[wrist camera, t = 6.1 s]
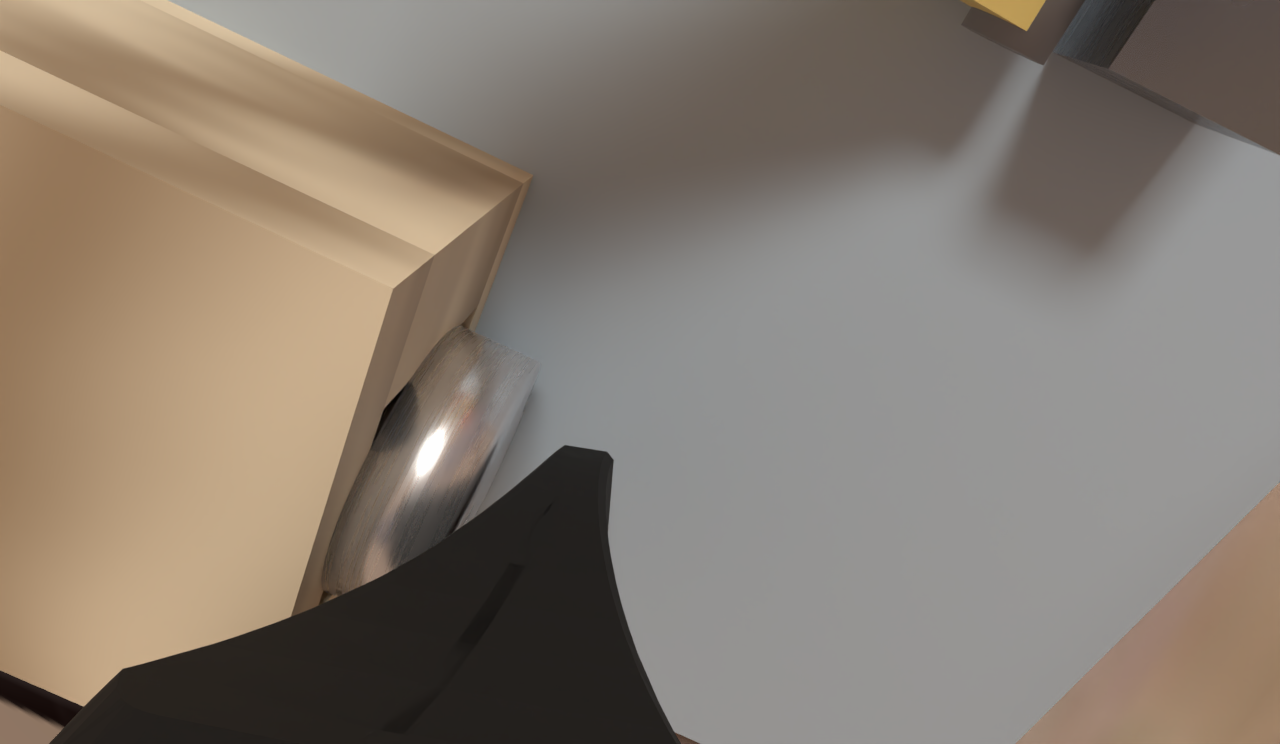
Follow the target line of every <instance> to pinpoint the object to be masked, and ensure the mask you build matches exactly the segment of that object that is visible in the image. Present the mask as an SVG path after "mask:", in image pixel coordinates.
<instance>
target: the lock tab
mask: <svg viewBox="0 0 1280 744" xmlns="http://www.w3.org/2000/svg"><path fill="white" fill-rule="evenodd" d="M960 1H962V2H964V3H965V4H967V5H969V6H970V7H971V8H970V10H969V12H968V14H967V15H966V17H965V19H964V21H963V22H962V24H961V25H962V26H963V27H965V28H967V29H969V30H970V31H972V32H974V33H976V34H978V35H980V36H982V37H984V38H986V39H988V40H990V41H992V42H994V43H996V44H998V45H1000V46H1002V47H1004V48H1006V49H1008V50H1010V51H1012V52H1014V53H1016V54H1018V55H1021V56H1023V57H1025V58H1027V59H1029V60H1031V61H1034V62H1036V63H1038V64H1041V65H1044V64H1045V62H1046V61H1047V59H1048V58H1049V56H1050V55H1051V53H1052V51H1053V50H1054V48H1055V47H1056V45H1057V44H1058V42H1059V41H1060V39H1061V37H1062V36H1063V34H1064V33H1065V31H1066V30H1067V28H1068V26H1069V25H1070V23H1071V22H1072V20H1073V19H1074V17H1075V16H1076V14H1077V12H1078V11H1079V9H1080V8H1081V6H1082V5H1083V3H1084V1H1085V0H960Z"/></svg>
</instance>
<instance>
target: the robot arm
mask: <svg viewBox="0 0 1280 744" xmlns="http://www.w3.org/2000/svg"><path fill="white" fill-rule="evenodd" d="M613 463H614V460H613V458H612V457H611V456H610V455H609V453H608V452H606V451H600V450H594V449H587V448H581V447H575V446H568V445H564V446H563V447H561V448H560V449H558V450H557V451H556V452H555V453H553V454H552V455H551V456H550V457H549V458H547V459H546V460H545V461H544V462H543V463H542V464H541V465H539V466H538V467H537V468H536V469H535V470H534V471H532V472H531V473H530V474H529V475H528V476H527V477H525V478H524V479H523V480H522V481H521V482H519V483H518V484H517V485H516V486H515V487H513V488H512V489H511V490H510V491H508V492H507V493H506V494H505V495H503V496H502V497H501V498H499V499H498V500H497V501H496V502H494V503H493V504H492V505H491V506H489V507H488V508H487V509H485V510H484V511H483V512H482V513H480V514H479V515H478V516H476V517H475V518H474V519H472V520H471V521H469V522H468V523H466V524H465V525H463V526H462V527H461V528H459V529H458V530H456V531H455V532H453V533H452V534H450V535H449V536H448V537H446V538H445V539H443V540H442V541H440V542H439V543H437V544H436V545H434V546H433V547H431V548H430V549H428V550H427V551H425V552H423V553H422V554H420V555H418V556H417V557H415V558H413V559H412V560H410V561H408V562H406V563H404V564H403V565H401V566H399V567H397V568H395V569H393V570H392V571H390V572H388V573H386V574H384V575H382V576H381V577H379V578H377V579H375V580H373V581H371V582H368V583H366V584H364V585H362V586H360V587H358V588H355V589H353V590H351V591H349V592H347V593H345V594H342V595H340V596H338V597H336V598H334V599H331V600H329V601H327V602H325V603H323V604H321V605H318V606H316V607H314V608H312V609H309V610H307V611H304V612H302V613H299V614H297V615H294V616H291V617H289V618H286V619H284V620H281V621H279V622H276V623H273V624H271V625H268V626H265V627H262V628H259V629H256V630H253V631H251V632H248V633H245V634H242V635H239V636H236V637H233V638H230V639H227V640H224V641H221V642H218V643H214V644H211V645H207V646H204V647H200V648H197V649H193V650H190V651H186V652H183V653H179V654H176V655H172V656H168V657H165V658H161V659H158V660H154V661H151V662H147V663H144V664H140V665H136V666H132V667H128V668H123V669H122V670H121V671H120V672H119V673H118V674H117V675H116V676H115V677H114V678H112V679H111V680H110V681H109V682H108V683H107V684H106V685H105V686H104V687H103V688H102V689H101V690H100V691H99V692H98V693H97V694H96V695H95V696H94V697H93V698H92V699H91V700H90V701H89V702H88V703H87V704H86V705H85V706H84V707H83V708H82V709H81V710H80V711H79V713H78V714H77V715H76V716H75V717H74V718H73V719H72V720H71V721H70V722H69V723H68V724H67V725H66V726H65V727H64V728H63V730H62V731H61V732H60V733H59V734H58V735H57V736H56V737H55V738H54V739H53V740H52V741H51V742H50V744H681V743H680V741H679V740H678V738H677V736H676V734H675V733H674V731H673V729H672V727H671V725H670V723H669V721H668V719H667V717H666V715H665V713H664V711H663V709H662V707H661V705H660V704H659V701H658V699H657V697H656V694H655V692H654V690H653V688H652V685H651V683H650V681H649V678H648V676H647V674H646V671H645V669H644V667H643V664H642V662H641V660H640V658H639V655H638V653H637V650H636V647H635V644H634V641H633V638H632V635H631V633H630V630H629V627H628V624H627V620H626V617H625V614H624V610H623V607H622V604H621V600H620V596H619V592H618V588H617V584H616V579H615V574H614V569H613V564H612V559H611V553H610V547H609V539H608V524H609V512H610V500H611V488H612V475H613Z"/></svg>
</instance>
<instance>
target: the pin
mask: <svg viewBox="0 0 1280 744" xmlns="http://www.w3.org/2000/svg"><path fill="white" fill-rule="evenodd" d="M539 370H540V362H538V361H536V360H534V359H532V358H530V357H528V356H526V355H523V354H521V353H519V352H517V351H515V350H513V349H511V348H508V347H506V346H504V345H502V344H500V343H498V342H496V341H493V340H491V339H489V338H487V337H485V336H483V335H481V334H478V333H476V332H474V331H472V330H470V329H468V328H466V327H463V326H456V327H454V328H452V329H451V330H450V331H448V332H447V333H446V334H445V335H444V336H443V337H442V338H441V339H440V340H439V342H438V343H437V344H436V345H435V346H434V347H433V349H432V350H431V351H430V353H429V354H428V355H427V356H426V358H425V359H424V360H423V362H422V363H421V365H420V366H419V368H418V369H417V370H416V372H415V373H414V375H413V376H412V378H411V379H410V381H409V382H408V383H407V384H406V385H405V386H404V387H403V388H402V389H401V391H400V392H399V393H398V394H397V395H396V396H395V397H394V398H393V399H392V400H391V401H390V403H389V404H388V405H387V406H386V407H385V408H384V409H383V412H382V415H381V418H380V421H379V424H378V427H377V430H376V433H375V436H374V439H373V442H372V445H371V448H370V451H369V453H368V455H367V457H366V459H365V461H364V463H363V465H362V467H361V469H360V471H359V473H358V475H357V477H356V480H355V482H354V484H353V486H352V488H351V490H350V493H349V495H348V497H347V500H346V502H345V504H344V507H343V509H342V512H341V514H340V517H339V519H338V522H337V524H336V527H335V530H334V532H333V535H332V538H331V541H330V544H329V547H328V551H327V554H326V557H325V561H324V566H323V570H322V578H321V584H322V589H323V591H325V592H327V593H329V594H331V595H333V596H336V597H338V596H340V595H342V594H345V593H347V592H349V591H351V590H353V589H355V588H358V587H360V586H362V585H364V584H366V583H368V582H371V581H373V580H375V579H377V578H379V577H381V576H382V575H384V574H386V573H388V572H390V571H392V570H393V569H395V568H397V567H399V566H401V565H403V564H404V563H406V562H408V561H410V560H412V559H413V558H415V557H417V556H418V555H420V554H422V553H423V552H425V551H427V550H428V549H430V548H431V547H433V546H434V545H436V544H437V543H439V542H440V541H442V540H443V539H445V538H446V537H448V536H449V535H450V534H452V533H453V532H455V531H456V530H458V529H459V528H461V527H462V526H463V525H465V524H466V523H468V522H469V521H471V520H472V519H474V518H475V517H476V515H477V513H478V511H479V509H480V507H481V505H482V502H483V500H484V498H485V496H486V494H487V492H488V490H489V488H490V486H491V484H492V482H493V480H494V478H495V475H496V473H497V471H498V469H499V467H500V465H501V463H502V460H503V458H504V456H505V454H506V452H507V449H508V447H509V445H510V443H511V441H512V438H513V436H514V434H515V432H516V429H517V427H518V425H519V422H520V420H521V418H522V415H523V413H524V411H525V408H526V406H527V403H528V401H529V398H530V396H531V393H532V391H533V388H534V385H535V382H536V380H537V377H538V373H539Z"/></svg>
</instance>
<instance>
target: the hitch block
mask: <svg viewBox="0 0 1280 744" xmlns="http://www.w3.org/2000/svg"><path fill="white" fill-rule="evenodd" d="M532 178H533V175H532V174H530V173H528V172H526V171H523V170H521V169H519V168H517V167H515V166H513V165H511V164H509V163H507V162H505V161H503V160H501V159H498V158H496V157H494V156H492V155H490V154H488V153H486V152H484V151H482V150H480V149H478V148H475V147H473V146H471V145H469V144H467V143H465V142H463V141H461V140H459V139H457V138H455V137H452V136H450V135H448V134H446V133H444V132H442V131H440V130H438V129H436V128H434V127H432V126H429V125H427V124H425V123H423V122H421V121H419V120H417V119H415V118H413V117H411V116H409V115H406V114H404V113H402V112H400V111H398V110H396V109H394V108H392V107H390V106H388V105H386V104H383V103H381V102H379V101H377V100H375V99H373V98H371V97H369V96H367V95H365V94H363V93H360V92H358V91H356V90H354V89H352V88H350V87H348V86H346V85H344V84H342V83H340V82H338V81H335V80H333V79H331V78H329V77H327V76H325V75H323V74H321V73H319V72H317V71H315V70H312V69H310V68H308V67H306V66H304V65H302V64H300V63H298V62H296V61H294V60H292V59H289V58H287V57H285V56H283V55H281V54H279V53H277V52H275V51H273V50H271V49H269V48H266V47H264V46H262V45H260V44H258V43H256V42H254V41H252V40H250V39H248V38H246V37H243V36H241V35H239V34H237V33H235V32H233V31H231V30H229V29H227V28H225V27H223V26H220V25H218V24H216V23H214V22H212V21H210V20H208V19H206V18H204V17H202V16H200V15H197V14H195V13H193V12H191V11H189V10H187V9H185V8H183V7H181V6H179V5H177V4H175V3H172V2H170V1H168V0H0V670H1V671H3V672H6V673H8V674H10V675H12V676H15V677H17V678H19V679H22V680H24V681H26V682H29V683H31V684H33V685H35V686H38V687H40V688H42V689H45V690H47V691H49V692H52V693H54V694H56V695H59V696H61V697H63V698H65V699H68V700H70V701H72V702H75V703H77V704H79V705H82V706H85V705H86V704H87V703H88V702H89V701H90V700H91V699H92V698H93V697H94V696H95V695H96V694H97V693H98V692H99V691H100V690H101V689H102V688H103V687H104V686H105V685H106V684H107V683H108V682H109V681H110V680H111V679H112V678H114V677H115V676H116V675H117V674H118V673H119V672H120V671H121V670H122V669H123V668H128V667H132V666H136V665H140V664H144V663H147V662H151V661H154V660H158V659H161V658H165V657H168V656H172V655H176V654H179V653H183V652H186V651H190V650H193V649H197V648H200V647H204V646H207V645H211V644H214V643H218V642H221V641H224V640H227V639H230V638H233V637H236V636H239V635H242V634H245V633H248V632H251V631H253V630H256V629H259V628H262V627H265V626H268V625H271V624H273V623H276V622H279V621H281V620H284V619H286V618H289V617H291V616H294V615H297V614H299V613H302V612H304V611H307V610H309V609H312V608H314V607H316V606H318V605H321V604H323V603H325V602H327V601H329V600H331V599H334V598H336V596H333V595H331V594H329V593H327V592H325V591H323V589H322V584H321V578H322V570H323V566H324V561H325V557H326V554H327V551H328V547H329V544H330V541H331V538H332V535H333V532H334V530H335V527H336V524H337V522H338V519H339V517H340V514H341V512H342V509H343V507H344V504H345V502H346V500H347V497H348V495H349V493H350V490H351V488H352V486H353V484H354V482H355V480H356V477H357V475H358V473H359V471H360V469H361V467H362V465H363V463H364V461H365V459H366V457H367V455H368V453H369V451H370V448H371V445H372V442H373V439H374V436H375V433H376V430H377V427H378V424H379V421H380V418H381V415H382V412H383V409H384V408H385V407H386V406H387V405H388V404H389V403H390V401H391V400H392V399H393V398H394V397H395V396H396V395H397V394H398V393H399V392H400V391H401V389H402V388H403V387H404V386H405V385H406V384H407V383H408V382H409V381H410V379H411V378H412V376H413V375H414V373H415V372H416V370H417V369H418V368H419V366H420V365H421V363H422V362H423V360H424V359H425V358H426V356H427V355H428V354H429V353H430V351H431V350H432V349H433V347H434V346H435V345H436V344H437V343H438V342H439V340H440V339H441V338H442V337H443V336H444V335H445V334H446V333H447V332H448V331H450V330H451V329H452V328H454V327H456V326H463V327H466V328H468V329H470V330H472V331H474V332H475V330H476V327H477V324H478V322H479V319H480V316H481V314H482V311H483V308H484V306H485V303H486V300H487V298H488V295H489V292H490V290H491V287H492V284H493V282H494V279H495V276H496V274H497V271H498V268H499V266H500V263H501V260H502V258H503V255H504V252H505V250H506V247H507V244H508V242H509V239H510V236H511V234H512V231H513V228H514V226H515V223H516V220H517V218H518V215H519V212H520V210H521V207H522V204H523V202H524V199H525V196H526V194H527V191H528V188H529V186H530V183H531V180H532Z"/></svg>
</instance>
